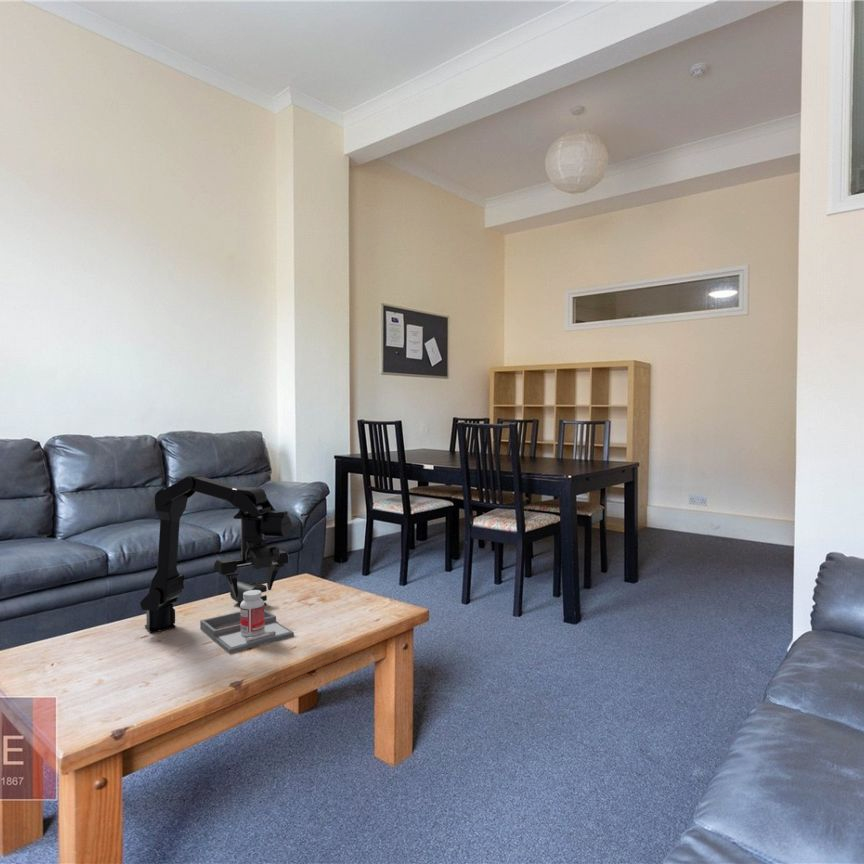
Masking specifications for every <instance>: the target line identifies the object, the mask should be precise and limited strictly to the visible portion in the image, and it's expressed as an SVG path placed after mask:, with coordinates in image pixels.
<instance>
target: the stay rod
mask: <svg viewBox="0 0 864 864" xmlns="http://www.w3.org/2000/svg"><path fill="white" fill-rule="evenodd" d="M275 634H276V632H275V631H272V632H268V633H265V634H261V635H257V636H253V637H249V638H245V642H250V641H253V640H257V639H261V638H265V637H269V636H272V635H275Z"/></svg>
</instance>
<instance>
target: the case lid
mask: <svg viewBox="0 0 864 864" xmlns="http://www.w3.org/2000/svg"><path fill="white" fill-rule="evenodd" d="M272 631H275V632H276V634H275V635H272V636H269V637H265V638H261V639H257V640H253V641H250V642H245V638H249V637H246V636H242V635H241V630H238V631H234V632H230V633H226V634H222V635H218V636H214V640H213V642H215V643H216V644H217V645H218V646H220V647H221V648H222V649H224V650H225V651H226V652H227V653H228V654H232V653H236V652H240V651H244V650H247V649H251V648H255V647H259V646H262V645H266V644H269V643H273V642H277V641H279V640H280V641H281V640H284V639H288V638H291V637H295V635H294V631H292V630H291V629H289V628H287V627H286V626H285V625H282V624H281V623H280V622H278V621H277V620H276V621H274V622H270V623H266V624H265V630H264V632H263V633H262V634H265V633H268V632H272Z"/></svg>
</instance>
